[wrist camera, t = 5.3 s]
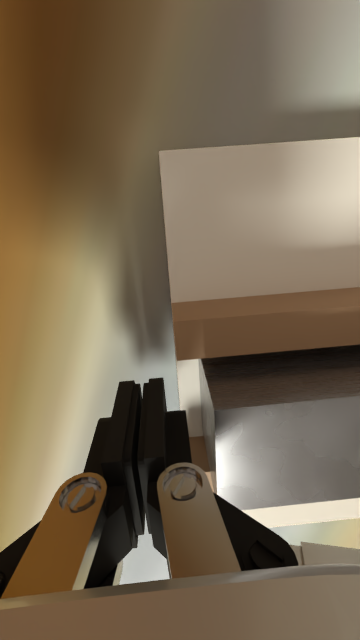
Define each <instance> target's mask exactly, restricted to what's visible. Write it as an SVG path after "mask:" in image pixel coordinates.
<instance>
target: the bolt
mask: <svg viewBox="0 0 360 640" xmlns="http://www.w3.org/2000/svg"><path fill="white" fill-rule="evenodd" d="M198 361H199V379H200V398H201V416H202V430H203V436H204V441H205V446H206V452H207V457H208V462H209V468H210V473H211V479H212V484H213V489H214V493H216V494H217V495H219V496H220V497H222V498H223V499H225V500H226V501H228V502H229V503H231V504H232V505H234V506H235V507H237V508H238V509H240V510H250V509H260V508H269V507H279V506H288V505H297V504H307V503H316V502H326V501H335V500H344V499H354V498H360V344H358V345H347V346H336V347H325V348H314V349H303V350H292V351H281V352H270V353H259V354H248V355H237V356H226V357H214V358H203V359H198Z"/></svg>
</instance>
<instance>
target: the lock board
mask: <svg viewBox="0 0 360 640" xmlns="http://www.w3.org/2000/svg"><path fill="white" fill-rule="evenodd" d="M159 163H160V175H161V187H162V199H163V211H164V223H165V235H166V247H167V259H168V271H169V283H170V295H171V307H172V319H173V331H174V343H175V355H176V367H177V379H178V391H179V403H180V410H186V417H187V425H188V433H189V441H190V449H191V457H192V464H194V465H197V466H199V467H200V468H201V469H202V470H203V471H204V472H205V474H206V475H207V477H208V480H209V483H210V486H211V488H212V491H213V492H214V489H213V484H212V479H211V473H210V468H209V462H208V457H207V452H206V446H205V441H204V436H203V430H202V416H201V398H200V379H199V361H198V359H203V358H214V357H226V356H237V355H248V354H259V353H270V352H281V351H292V350H303V349H314V348H325V347H336V346H347V345H358V344H360V137H352V138H337V139H323V140H308V141H293V142H279V143H264V144H250V145H235V146H221V147H206V148H192V149H177V150H163V151H159ZM241 511H243V512H244V513H246V514H247V515H249V516H250V517H252V518H253V519H255V520H256V521H258V522H259V523H261V524H262V525H264V526H265V527H267V528H271V527H280V526H289V525H299V524H308V523H317V522H326V521H335V520H345V519H354V518H360V498H354V499H344V500H335V501H326V502H316V503H307V504H297V505H288V506H279V507H269V508H260V509H250V510H241Z"/></svg>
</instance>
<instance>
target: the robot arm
mask: <svg viewBox="0 0 360 640" xmlns="http://www.w3.org/2000/svg"><path fill="white" fill-rule="evenodd" d="M145 513H146V520H147V526H148V532H149V534H152V539H153V546H154V548H156V549H157V550H158V551H159V552H160V553H161V554H162V555H163V556H164V557H165V558H166V559H167V565H168V571H169V578H170V579H167V580H158V581H149V582H140V583H132V584H123V585H119V582H120V578H121V574H122V568H123V560H122V559H123V558H124V557H125V556H126V555H127V554H128V553H129V552H130V551H131V550H132V548H137V543H138V535H144V528H145ZM0 640H360V549H353V548H345V547H338V546H330V545H322V544H314V543H307V542H301V545H300V546H295V545H289V544H288V543H287V542H286V541H285V540H284V539H283V538H281V537H280V536H279V535H277V534H276V533H274V532H273V531H271V530H270V529H268V528H267V527H265V526H264V525H262V524H261V523H259V522H258V521H256V520H255V519H253V518H252V517H250V516H249V515H247V514H246V513H244V512H243V511H241V510H240V509H238V508H237V507H235V506H234V505H232V504H231V503H229V502H228V501H226V500H225V499H223V498H222V497H220V496H219V495H217V494H216V493H214V492H213V491H212V488H211V486H210V483H209V480H208V477H207V475H206V474H205V472H204V471H203V470H202V469H201V468H200V467H199V466H197V465H194V464H192V457H191V449H190V441H189V433H188V425H187V417H186V410H179V411H169V412H167V408H166V399H165V389H164V380H163V378H154V379H149V383H144V386H143V397H142V394H141V387H140V384H135V382H134V380H133V381H123V382H119V386H118V390H117V395H116V399H115V403H114V408H113V412H112V416H111V417H109V418H100V419H99V421H98V423H97V427H96V430H95V434H94V437H93V441H92V444H91V448H90V451H89V455H88V458H87V462H86V465H85V469H84V472H83V473H81V474H78V475H76V476H73V477H72V478H70V479H68V480H67V481H66V482H65V483H64V484H62V485H61V486H60V488H59V489H58V491H57V492H56V494H55V495H54V497H53V499H52V501H51V503H50V505H49V507H48V509H47V511H46V513H45V515H44V516H43V518H42V520H41V521H40V522H39V523H37V524H36V525H35V526H34V527H32V528H31V529H30V530H28V531H27V532H26V533H25V534H23V535H22V536H21V537H19V538H18V539H17V540H16V541H14V542H13V543H12V544H10V545H9V546H8V547H7V548H5V549H4V550H3V551H2V552H0Z"/></svg>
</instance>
